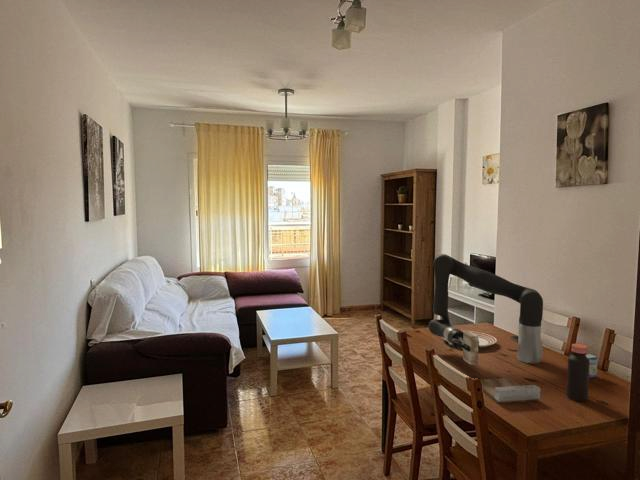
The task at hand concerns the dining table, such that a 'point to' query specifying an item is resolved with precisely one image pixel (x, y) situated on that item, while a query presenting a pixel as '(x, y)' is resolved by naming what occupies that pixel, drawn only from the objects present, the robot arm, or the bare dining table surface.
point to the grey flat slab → (501, 382)
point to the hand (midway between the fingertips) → (474, 348)
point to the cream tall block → (471, 341)
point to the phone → (514, 338)
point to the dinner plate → (483, 339)
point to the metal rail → (517, 393)
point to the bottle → (578, 374)
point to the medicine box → (592, 365)
